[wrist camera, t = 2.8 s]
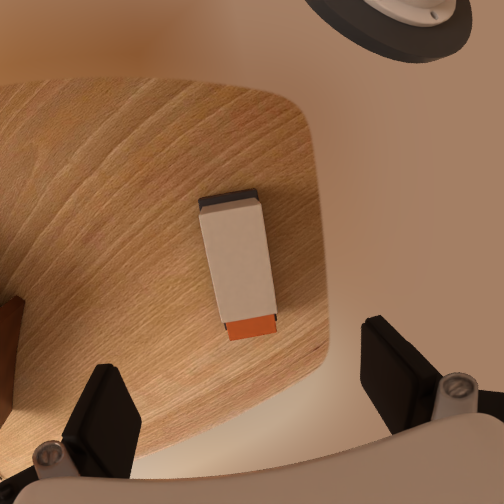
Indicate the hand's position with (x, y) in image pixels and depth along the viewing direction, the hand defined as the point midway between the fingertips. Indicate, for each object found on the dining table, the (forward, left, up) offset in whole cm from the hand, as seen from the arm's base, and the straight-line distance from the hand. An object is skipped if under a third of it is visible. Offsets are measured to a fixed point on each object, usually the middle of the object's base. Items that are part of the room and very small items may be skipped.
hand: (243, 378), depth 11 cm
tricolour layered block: (-1, 0, -13) cm, 13 cm away
